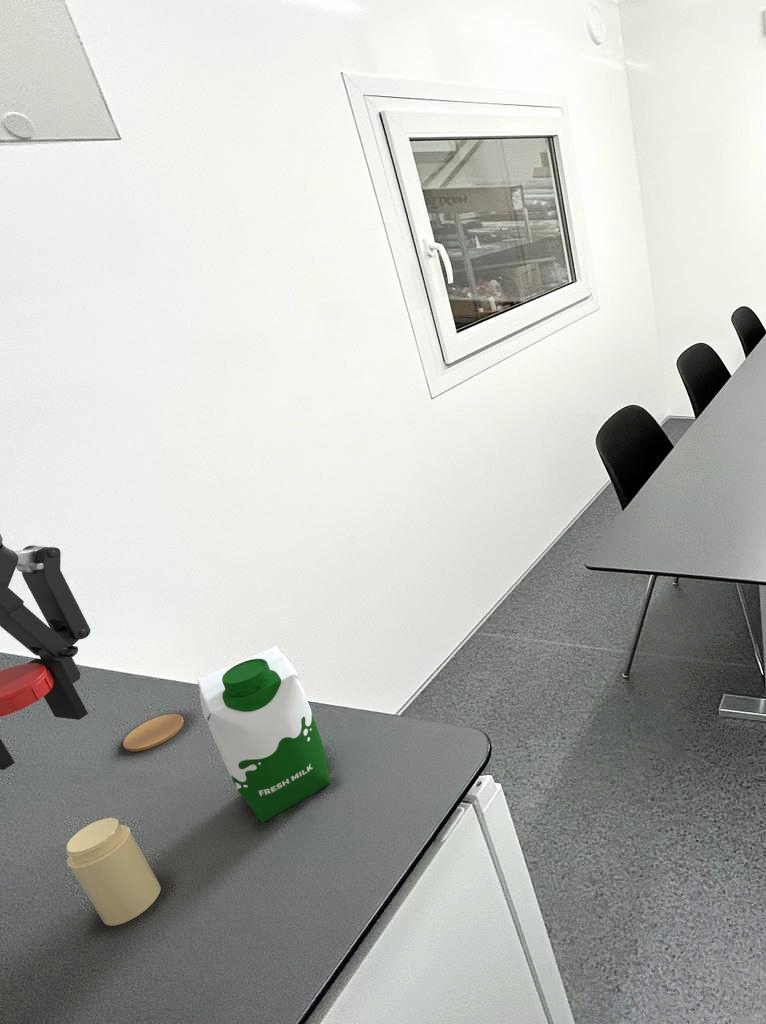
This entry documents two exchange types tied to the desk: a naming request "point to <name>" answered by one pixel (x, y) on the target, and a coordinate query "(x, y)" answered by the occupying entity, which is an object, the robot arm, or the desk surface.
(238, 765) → the milk carton
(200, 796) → the desk surface
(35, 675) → the jar lid
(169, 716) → the coaster
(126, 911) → the jar
